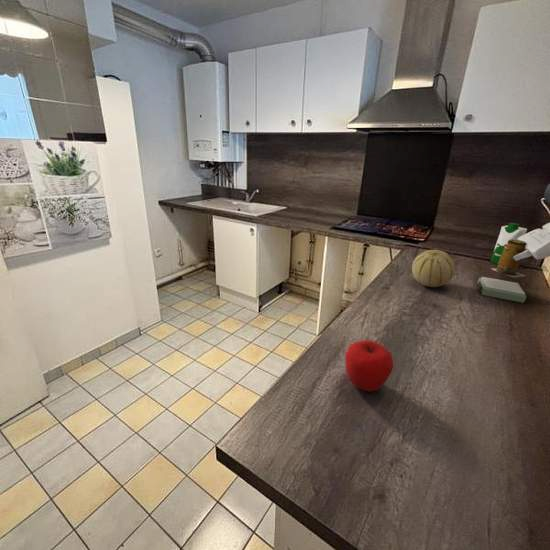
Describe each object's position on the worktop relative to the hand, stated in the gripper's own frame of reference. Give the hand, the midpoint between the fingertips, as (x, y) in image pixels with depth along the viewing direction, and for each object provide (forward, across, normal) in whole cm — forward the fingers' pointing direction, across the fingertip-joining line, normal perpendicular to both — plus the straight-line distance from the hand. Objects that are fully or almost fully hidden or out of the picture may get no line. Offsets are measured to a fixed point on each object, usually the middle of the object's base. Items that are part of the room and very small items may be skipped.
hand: (511, 255), depth 107 cm
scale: (+10, 0, +11) cm, 15 cm away
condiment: (+4, +1, +5) cm, 7 cm away
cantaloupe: (+28, +7, -6) cm, 30 cm away
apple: (+38, +75, -16) cm, 85 cm away
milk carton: (+5, -42, +17) cm, 46 cm away
